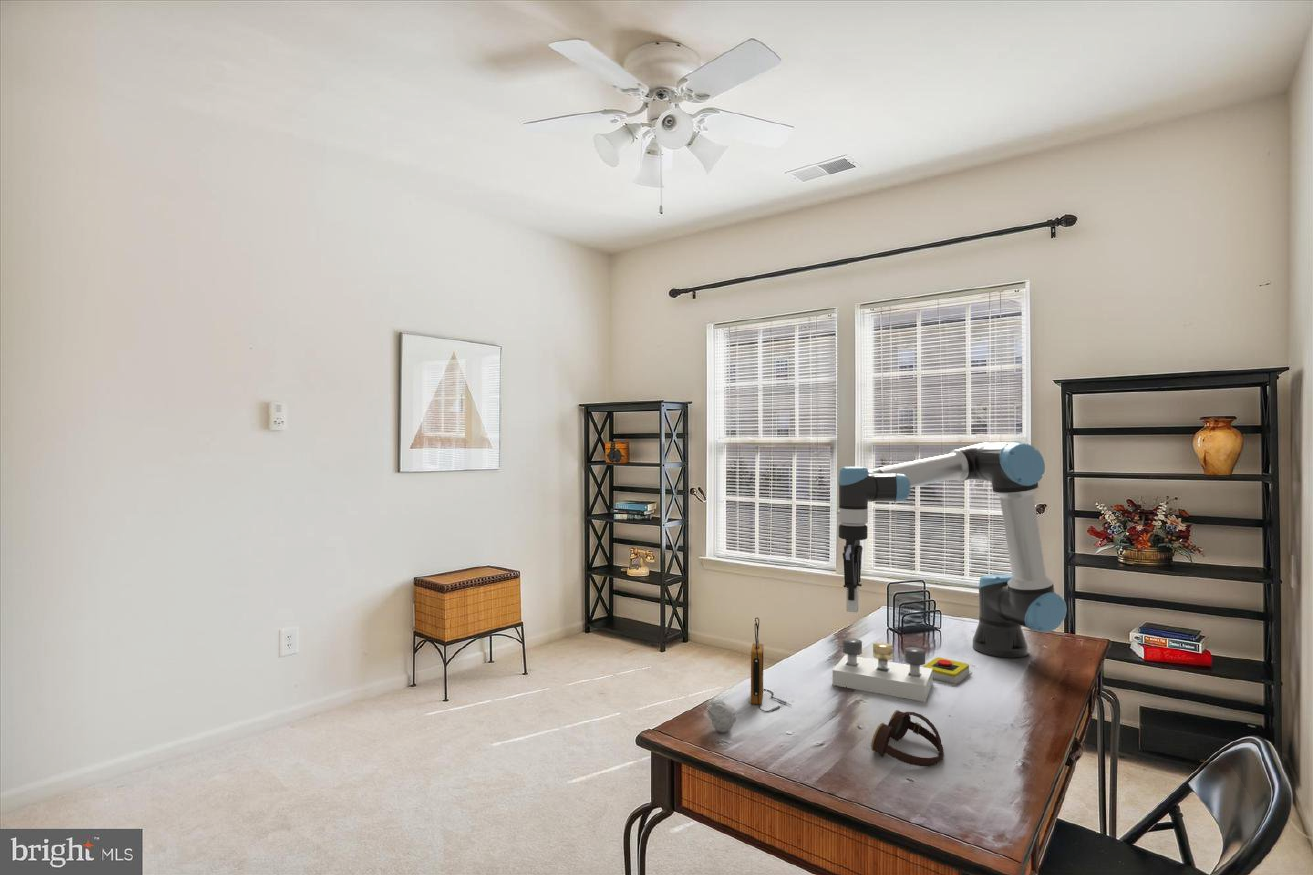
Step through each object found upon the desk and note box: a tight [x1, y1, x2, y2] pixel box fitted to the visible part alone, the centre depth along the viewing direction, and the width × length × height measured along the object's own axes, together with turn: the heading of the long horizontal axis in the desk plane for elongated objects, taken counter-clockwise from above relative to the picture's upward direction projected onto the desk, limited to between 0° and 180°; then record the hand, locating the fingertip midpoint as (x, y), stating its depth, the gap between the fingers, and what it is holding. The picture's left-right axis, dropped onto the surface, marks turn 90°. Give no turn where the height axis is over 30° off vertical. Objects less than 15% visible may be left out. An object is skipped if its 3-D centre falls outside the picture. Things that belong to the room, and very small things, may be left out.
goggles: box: [870, 709, 945, 768], centre depth 142 cm, size 15×13×10 cm
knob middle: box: [872, 642, 894, 672], centre depth 181 cm, size 5×5×7 cm
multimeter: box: [750, 617, 792, 713], centre depth 169 cm, size 15×10×20 cm
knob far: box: [842, 637, 863, 667], centre depth 185 cm, size 5×5×7 cm
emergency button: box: [922, 656, 973, 687], centre depth 188 cm, size 9×4×15 cm
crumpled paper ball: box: [706, 699, 737, 733], centre depth 152 cm, size 6×7×7 cm
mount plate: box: [832, 654, 934, 703], centre depth 181 cm, size 23×14×4 cm, turn 61°
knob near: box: [904, 646, 926, 677], centre depth 177 cm, size 5×5×7 cm
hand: (852, 610), depth 185 cm, fingers closed
